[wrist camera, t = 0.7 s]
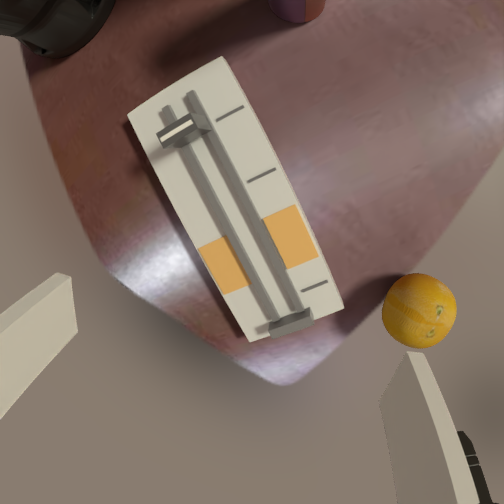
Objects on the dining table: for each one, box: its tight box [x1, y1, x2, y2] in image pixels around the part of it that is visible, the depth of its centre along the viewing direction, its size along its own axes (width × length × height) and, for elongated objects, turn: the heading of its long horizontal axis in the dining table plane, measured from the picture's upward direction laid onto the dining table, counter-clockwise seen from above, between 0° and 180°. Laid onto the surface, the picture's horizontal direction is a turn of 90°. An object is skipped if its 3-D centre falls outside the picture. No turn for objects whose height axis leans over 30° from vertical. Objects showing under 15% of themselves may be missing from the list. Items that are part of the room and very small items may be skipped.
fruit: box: [382, 273, 456, 348], centre depth 31 cm, size 9×8×8 cm
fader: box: [156, 113, 212, 149], centre depth 28 cm, size 2×4×6 cm, turn 117°
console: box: [127, 56, 344, 342], centre depth 32 cm, size 30×12×4 cm, turn 27°
